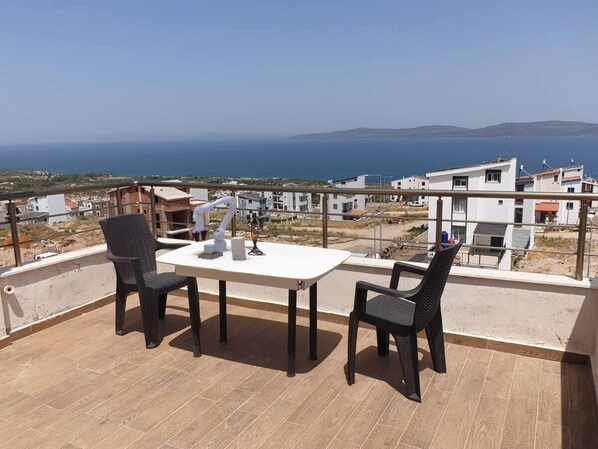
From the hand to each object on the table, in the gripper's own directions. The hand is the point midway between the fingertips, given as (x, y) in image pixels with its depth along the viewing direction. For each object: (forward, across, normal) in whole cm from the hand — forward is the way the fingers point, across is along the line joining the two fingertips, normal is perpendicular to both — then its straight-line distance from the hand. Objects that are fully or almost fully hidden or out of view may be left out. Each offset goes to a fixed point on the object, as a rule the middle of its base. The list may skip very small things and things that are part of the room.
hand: (200, 241), depth 323 cm
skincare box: (+10, +2, +36) cm, 37 cm away
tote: (+10, +6, +14) cm, 18 cm away
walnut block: (+10, +6, +14) cm, 18 cm away
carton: (+6, +6, +13) cm, 16 cm away
